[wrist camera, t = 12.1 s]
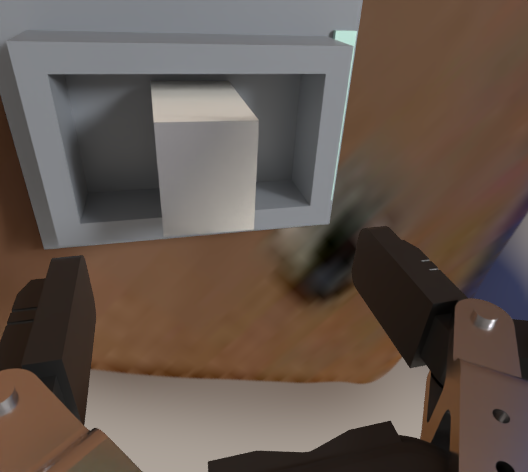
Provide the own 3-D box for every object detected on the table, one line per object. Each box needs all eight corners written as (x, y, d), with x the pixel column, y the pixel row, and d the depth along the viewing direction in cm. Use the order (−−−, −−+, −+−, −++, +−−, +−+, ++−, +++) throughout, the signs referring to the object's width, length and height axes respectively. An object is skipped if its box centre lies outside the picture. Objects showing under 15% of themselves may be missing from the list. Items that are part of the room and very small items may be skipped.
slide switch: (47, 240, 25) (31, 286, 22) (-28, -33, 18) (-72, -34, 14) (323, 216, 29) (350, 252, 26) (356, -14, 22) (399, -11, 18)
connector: (158, 172, 24) (163, 237, 18) (150, 80, 21) (153, 122, 15) (227, 169, 25) (253, 229, 19) (228, 81, 22) (258, 120, 16)
